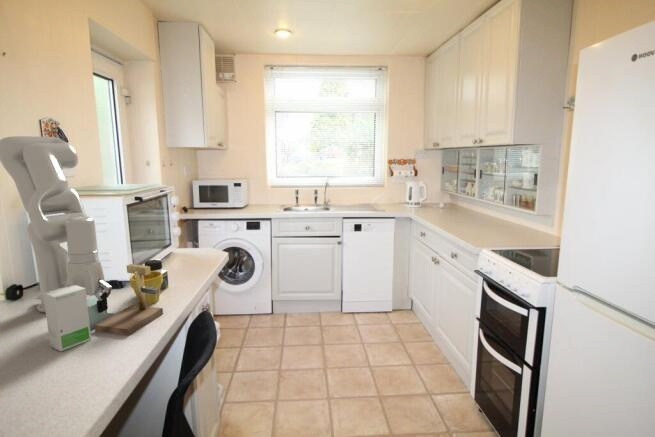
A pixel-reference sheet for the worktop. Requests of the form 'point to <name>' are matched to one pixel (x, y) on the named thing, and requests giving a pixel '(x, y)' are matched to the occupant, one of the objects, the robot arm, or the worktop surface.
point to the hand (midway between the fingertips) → (90, 309)
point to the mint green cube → (95, 311)
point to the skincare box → (67, 317)
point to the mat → (100, 321)
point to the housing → (128, 320)
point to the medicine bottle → (157, 266)
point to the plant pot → (149, 285)
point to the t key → (141, 283)
